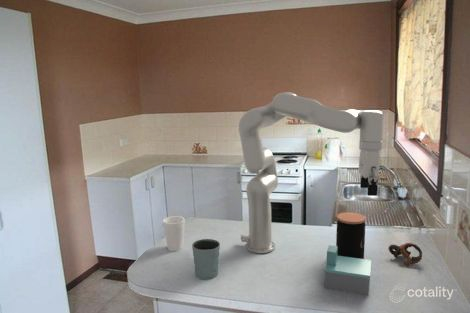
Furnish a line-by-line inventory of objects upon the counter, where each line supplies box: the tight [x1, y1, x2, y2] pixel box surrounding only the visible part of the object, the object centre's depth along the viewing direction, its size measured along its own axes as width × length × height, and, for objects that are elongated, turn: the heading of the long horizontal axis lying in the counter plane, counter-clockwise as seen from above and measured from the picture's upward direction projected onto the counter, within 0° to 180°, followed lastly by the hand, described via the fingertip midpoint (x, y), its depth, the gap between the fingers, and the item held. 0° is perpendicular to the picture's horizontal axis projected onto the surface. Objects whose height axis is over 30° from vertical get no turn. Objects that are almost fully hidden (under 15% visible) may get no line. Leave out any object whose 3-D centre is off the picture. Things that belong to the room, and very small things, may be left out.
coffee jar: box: [335, 211, 367, 259], centre depth 148 cm, size 11×11×18 cm
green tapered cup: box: [191, 238, 221, 281], centre depth 141 cm, size 10×10×12 cm
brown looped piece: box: [388, 242, 423, 267], centre depth 147 cm, size 12×10×8 cm
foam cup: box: [162, 215, 186, 252], centre depth 164 cm, size 10×9×13 cm
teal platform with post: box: [324, 244, 372, 279], centre depth 129 cm, size 14×11×8 cm
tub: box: [324, 271, 371, 296], centre depth 130 cm, size 14×11×7 cm
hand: (368, 191), depth 139 cm, fingers open, 9 cm apart
